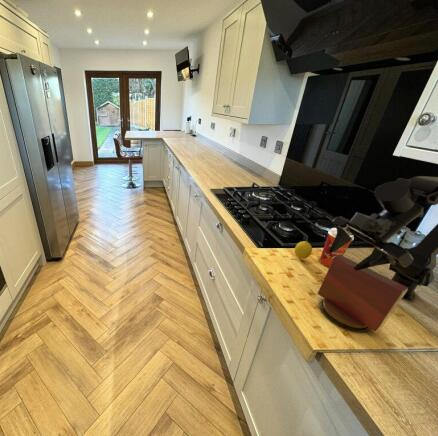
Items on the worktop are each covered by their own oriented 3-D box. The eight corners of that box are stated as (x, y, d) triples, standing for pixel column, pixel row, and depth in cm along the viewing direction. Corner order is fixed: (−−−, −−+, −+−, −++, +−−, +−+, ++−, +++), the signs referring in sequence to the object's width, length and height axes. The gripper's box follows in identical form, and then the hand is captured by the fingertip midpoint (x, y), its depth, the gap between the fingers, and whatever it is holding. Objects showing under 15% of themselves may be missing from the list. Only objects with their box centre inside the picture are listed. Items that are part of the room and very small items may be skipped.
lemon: (288, 256, 96) (294, 239, 92) (298, 253, 97) (304, 237, 94) (301, 263, 91) (307, 246, 87) (311, 261, 93) (318, 244, 89)
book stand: (328, 290, 77) (347, 251, 70) (386, 326, 65) (416, 283, 58) (307, 300, 72) (325, 260, 66) (365, 341, 60) (395, 296, 53)
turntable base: (335, 296, 76) (336, 294, 75) (378, 324, 66) (379, 322, 66) (311, 306, 72) (312, 303, 71) (353, 337, 62) (354, 335, 62)
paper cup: (320, 267, 89) (335, 235, 83) (313, 256, 96) (325, 225, 90) (344, 271, 88) (360, 238, 82) (334, 259, 94) (349, 228, 88)
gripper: (346, 190, 67) (302, 230, 71) (423, 220, 50) (360, 269, 55) (363, 210, 71) (320, 246, 75) (439, 244, 54) (379, 288, 59)
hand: (341, 260), depth 66 cm, fingers open, 8 cm apart
